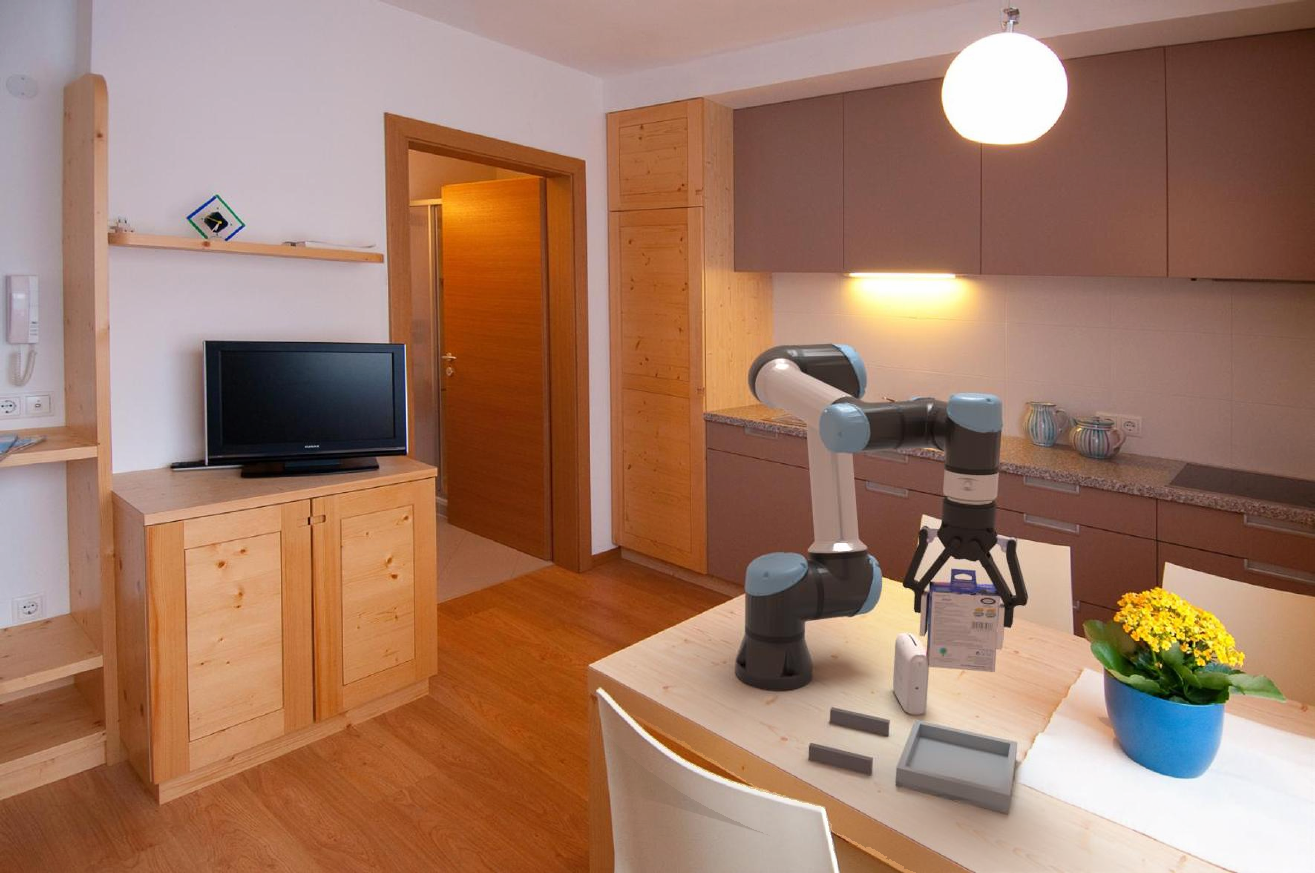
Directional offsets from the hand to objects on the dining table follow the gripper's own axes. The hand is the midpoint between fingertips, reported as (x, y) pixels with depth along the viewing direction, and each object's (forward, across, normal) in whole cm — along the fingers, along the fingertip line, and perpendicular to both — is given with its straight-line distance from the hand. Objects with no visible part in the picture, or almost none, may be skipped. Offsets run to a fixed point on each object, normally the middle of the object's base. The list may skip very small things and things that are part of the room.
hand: (960, 639), depth 130 cm
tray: (+22, +1, 0) cm, 22 cm away
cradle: (+22, -16, 0) cm, 27 cm away
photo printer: (+22, -11, +20) cm, 32 cm away
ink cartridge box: (+4, 0, 0) cm, 4 cm away
